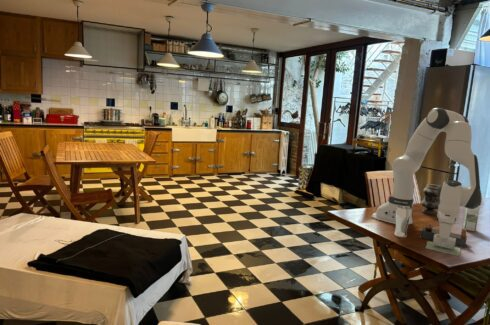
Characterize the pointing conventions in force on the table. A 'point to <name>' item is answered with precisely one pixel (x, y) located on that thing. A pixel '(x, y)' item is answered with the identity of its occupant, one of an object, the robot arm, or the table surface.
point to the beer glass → (402, 220)
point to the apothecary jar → (430, 199)
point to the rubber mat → (443, 249)
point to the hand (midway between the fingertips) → (443, 242)
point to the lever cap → (449, 243)
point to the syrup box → (470, 219)
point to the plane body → (460, 239)
